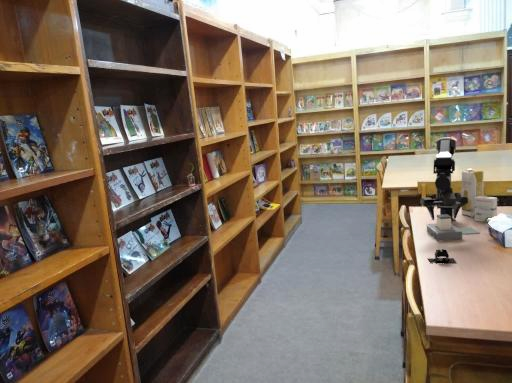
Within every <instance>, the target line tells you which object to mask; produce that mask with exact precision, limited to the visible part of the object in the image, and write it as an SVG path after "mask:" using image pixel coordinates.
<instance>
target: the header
mask: <svg viewBox="0 0 512 383" xmlns="http://www.w3.org/2000/svg"><path fill="white" fill-rule="evenodd" d="M425 225H426V232H427V233H428V234H429V235H431V236H432V237H433V238H434V237H435V239H436V241H437V242H439V240H443V241H455V240H456V241H457V240H463V235H462V231H461V230H459V229H458V227H457V226H455V225H454V224H452V223H451V229H447V230H439V229H438V228H437V222H436V223H435V222H434V223H426V224H425Z"/></svg>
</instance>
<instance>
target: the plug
mask: <svg viewBox="0 0 512 383" xmlns="http://www.w3.org/2000/svg"><path fill="white" fill-rule="evenodd" d="M436 223H437V228H438V229H439V230H447V229H451V224H452V221H451V216H449V215H448V214H442V215H440V214H436Z"/></svg>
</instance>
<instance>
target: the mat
mask: <svg viewBox="0 0 512 383" xmlns="http://www.w3.org/2000/svg"><path fill="white" fill-rule="evenodd" d="M457 228H458V227H457ZM458 229H459V230H461V231H462V236H463V235H475V234H480V233H481V232H480V231H478V230H476V229H475V228H473V227H459V228H458Z"/></svg>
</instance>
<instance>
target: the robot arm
mask: <svg viewBox="0 0 512 383" xmlns="http://www.w3.org/2000/svg"><path fill="white" fill-rule="evenodd" d="M456 150H457V140H455V139H453V138H452V137H441V138H439V139H438V140H437V141H436V151H437V154H436V156H435V158H434V159H433V174H434V175H435V174H436V178H435V181H434V185H435V189H436V194H435V198H431V197H430V196H427V197H421V198H420V200H419V203H420V205H422V206H423V207H425V208H426V209H427V212H429V215H430V217H431V220H432V221H434V220H435V212H434V211H435V210H434V208H435V206H434V204H436V209H439V215H442V214H448V215H449V216H451V222H455V221H456V218H457V216H458V214H459V212H460V209H462V206H463V205H465V204H466V203H468V198H467V197H466V196H464V195H462V193H461V192H454V191H453V188H452V174H454V172H455V170H456V161H455V160H454V158H453V156H454V154H455V151H456Z"/></svg>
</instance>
